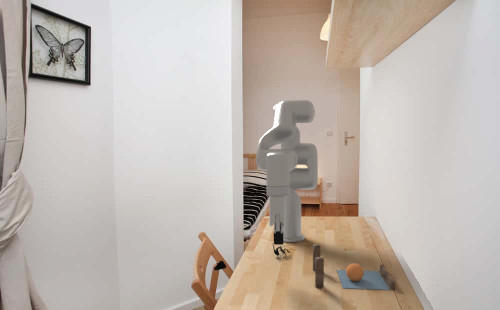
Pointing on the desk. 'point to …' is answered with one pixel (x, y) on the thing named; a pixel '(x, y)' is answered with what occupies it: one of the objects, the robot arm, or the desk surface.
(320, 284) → the post near camera
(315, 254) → the post near arm
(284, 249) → the creature
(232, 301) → the desk surface
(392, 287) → the wall
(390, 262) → the desk surface
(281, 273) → the desk surface
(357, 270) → the ball
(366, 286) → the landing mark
